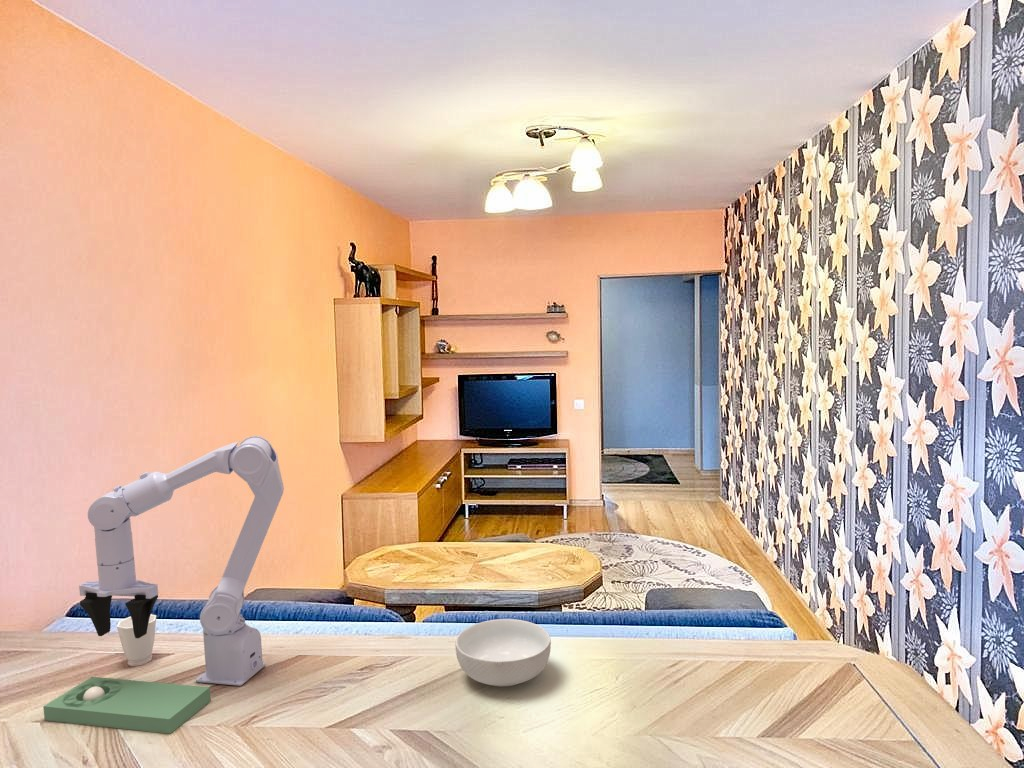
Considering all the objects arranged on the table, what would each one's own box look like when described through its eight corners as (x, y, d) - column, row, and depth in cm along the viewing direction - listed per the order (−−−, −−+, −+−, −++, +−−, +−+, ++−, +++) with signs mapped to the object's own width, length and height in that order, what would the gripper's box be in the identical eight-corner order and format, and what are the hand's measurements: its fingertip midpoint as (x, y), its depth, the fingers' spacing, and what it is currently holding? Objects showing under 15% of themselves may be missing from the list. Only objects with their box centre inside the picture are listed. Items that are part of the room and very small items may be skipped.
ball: (100, 703, 121) (112, 695, 120) (85, 714, 118) (97, 705, 117) (90, 688, 121) (102, 679, 120) (75, 698, 118) (87, 689, 117)
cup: (125, 673, 131) (121, 631, 131) (110, 656, 138) (107, 616, 138) (165, 660, 136) (162, 619, 135) (149, 644, 143) (146, 606, 143)
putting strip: (210, 700, 120) (209, 687, 120) (170, 733, 110) (169, 719, 110) (93, 689, 125) (91, 676, 125) (44, 720, 116) (43, 706, 115)
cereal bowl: (440, 691, 120) (438, 651, 120) (480, 649, 136) (478, 614, 135) (532, 708, 114) (531, 666, 114) (563, 662, 129) (562, 624, 129)
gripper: (62, 567, 121) (69, 642, 122) (134, 569, 118) (141, 647, 119) (94, 553, 128) (101, 625, 129) (163, 555, 125) (169, 629, 126)
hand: (122, 634), depth 125 cm, fingers open, 7 cm apart
